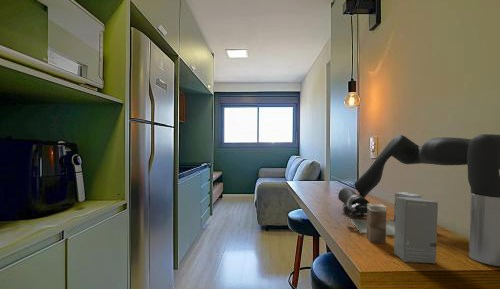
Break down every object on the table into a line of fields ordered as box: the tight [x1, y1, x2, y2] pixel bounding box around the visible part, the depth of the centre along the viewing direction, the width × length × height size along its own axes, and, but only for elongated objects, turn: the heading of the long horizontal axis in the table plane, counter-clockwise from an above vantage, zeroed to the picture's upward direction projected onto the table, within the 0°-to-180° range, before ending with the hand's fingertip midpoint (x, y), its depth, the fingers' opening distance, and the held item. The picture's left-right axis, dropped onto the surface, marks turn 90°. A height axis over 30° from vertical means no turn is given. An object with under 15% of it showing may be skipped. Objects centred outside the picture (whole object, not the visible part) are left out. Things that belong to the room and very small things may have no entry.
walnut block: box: [366, 203, 388, 244], centre depth 94 cm, size 4×4×11 cm
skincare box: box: [393, 197, 439, 264], centre depth 79 cm, size 8×7×16 cm
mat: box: [349, 218, 395, 237], centre depth 109 cm, size 16×18×1 cm
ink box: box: [393, 191, 422, 223], centre depth 116 cm, size 8×5×12 cm, turn 17°
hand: (368, 214), depth 104 cm, fingers open, 8 cm apart
